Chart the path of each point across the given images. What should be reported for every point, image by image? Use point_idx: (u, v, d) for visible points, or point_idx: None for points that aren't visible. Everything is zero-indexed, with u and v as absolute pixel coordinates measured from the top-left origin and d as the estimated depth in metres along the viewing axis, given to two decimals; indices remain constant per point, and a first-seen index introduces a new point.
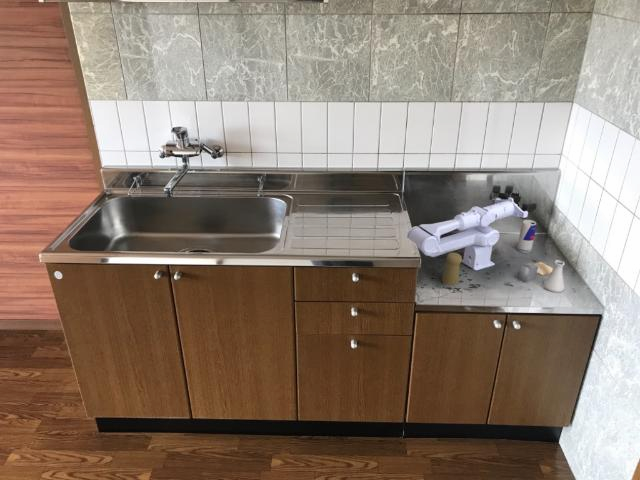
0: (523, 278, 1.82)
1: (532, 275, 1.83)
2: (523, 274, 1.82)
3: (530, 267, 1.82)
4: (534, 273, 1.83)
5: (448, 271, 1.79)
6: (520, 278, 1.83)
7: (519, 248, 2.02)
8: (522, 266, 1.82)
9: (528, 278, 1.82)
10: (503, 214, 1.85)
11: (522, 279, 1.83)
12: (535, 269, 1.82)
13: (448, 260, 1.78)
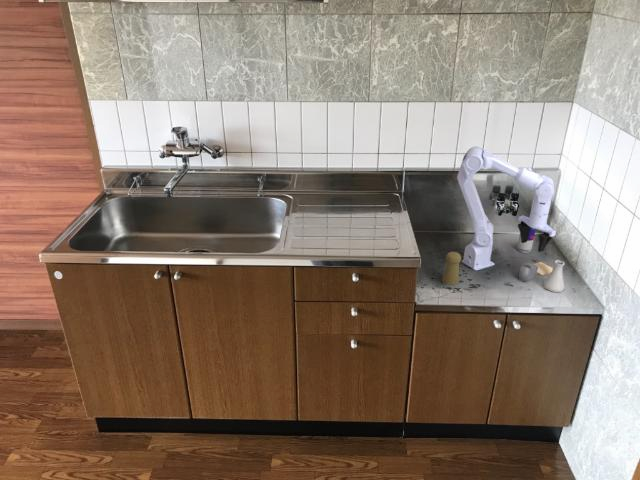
0: (523, 278, 1.82)
1: (532, 275, 1.83)
2: (523, 274, 1.82)
3: (530, 267, 1.82)
4: (534, 273, 1.83)
5: (448, 270, 1.80)
6: (520, 278, 1.83)
7: (519, 248, 2.02)
8: (522, 266, 1.82)
9: (528, 278, 1.82)
10: (540, 212, 1.76)
11: (522, 279, 1.83)
12: (535, 269, 1.82)
13: (447, 259, 1.78)
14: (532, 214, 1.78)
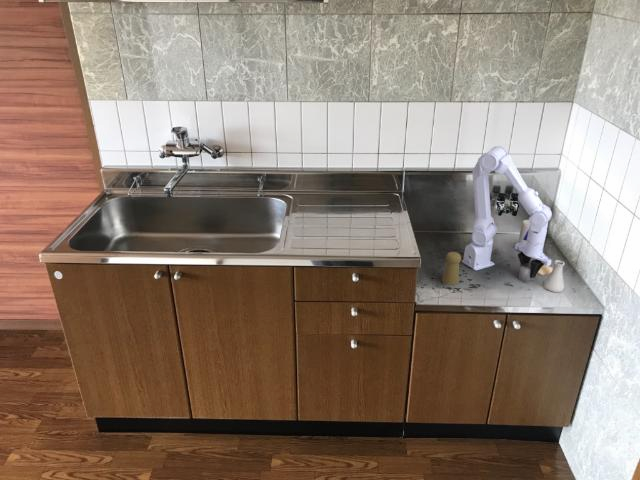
0: (523, 278, 1.82)
1: None
2: (523, 274, 1.82)
3: (530, 267, 1.82)
4: None
5: (448, 270, 1.80)
6: (520, 278, 1.83)
7: None
8: (522, 266, 1.82)
9: (528, 278, 1.82)
10: (533, 241, 1.76)
11: (522, 279, 1.83)
12: None
13: (447, 259, 1.78)
14: (528, 243, 1.78)
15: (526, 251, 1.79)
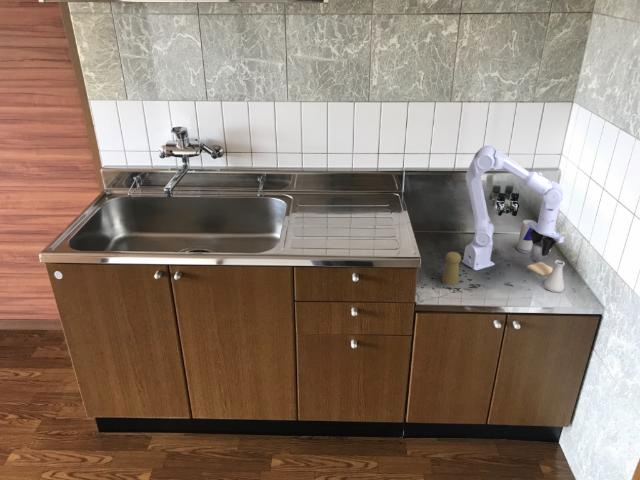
0: (535, 256, 1.82)
1: None
2: (535, 252, 1.82)
3: (542, 245, 1.82)
4: None
5: (448, 270, 1.80)
6: (532, 257, 1.83)
7: (519, 248, 2.02)
8: (534, 244, 1.82)
9: (540, 256, 1.82)
10: (548, 219, 1.75)
11: (534, 257, 1.83)
12: None
13: (447, 259, 1.78)
14: (540, 220, 1.78)
15: (538, 229, 1.79)
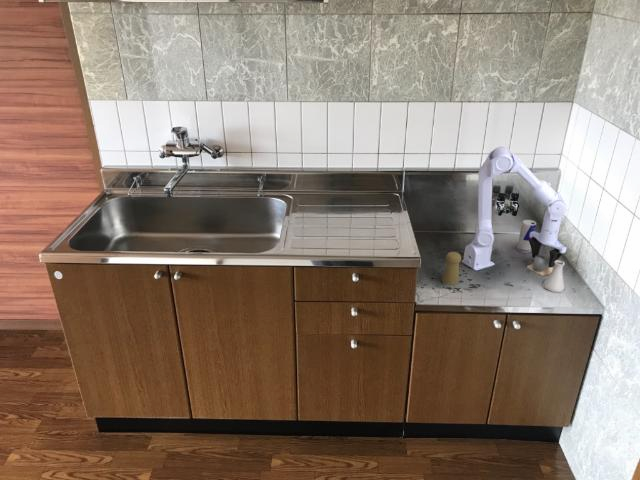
0: (537, 268, 1.87)
1: (546, 265, 1.88)
2: (537, 264, 1.87)
3: (544, 257, 1.87)
4: (548, 263, 1.88)
5: (448, 270, 1.80)
6: (534, 268, 1.88)
7: (519, 248, 2.02)
8: (536, 256, 1.87)
9: (542, 268, 1.87)
10: (552, 229, 1.80)
11: (536, 269, 1.88)
12: (549, 259, 1.87)
13: (447, 259, 1.78)
14: (543, 230, 1.82)
15: (541, 239, 1.84)
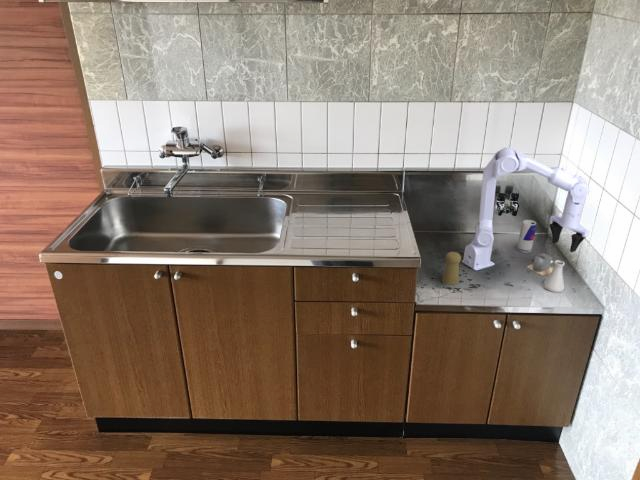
0: (537, 268, 1.87)
1: (546, 265, 1.88)
2: (537, 264, 1.87)
3: (544, 257, 1.87)
4: (548, 263, 1.88)
5: (448, 270, 1.80)
6: (534, 268, 1.88)
7: (519, 248, 2.02)
8: (536, 256, 1.87)
9: (542, 268, 1.87)
10: (574, 213, 1.75)
11: (536, 269, 1.88)
12: (549, 259, 1.87)
13: (447, 259, 1.78)
14: (565, 214, 1.77)
15: (563, 223, 1.79)
